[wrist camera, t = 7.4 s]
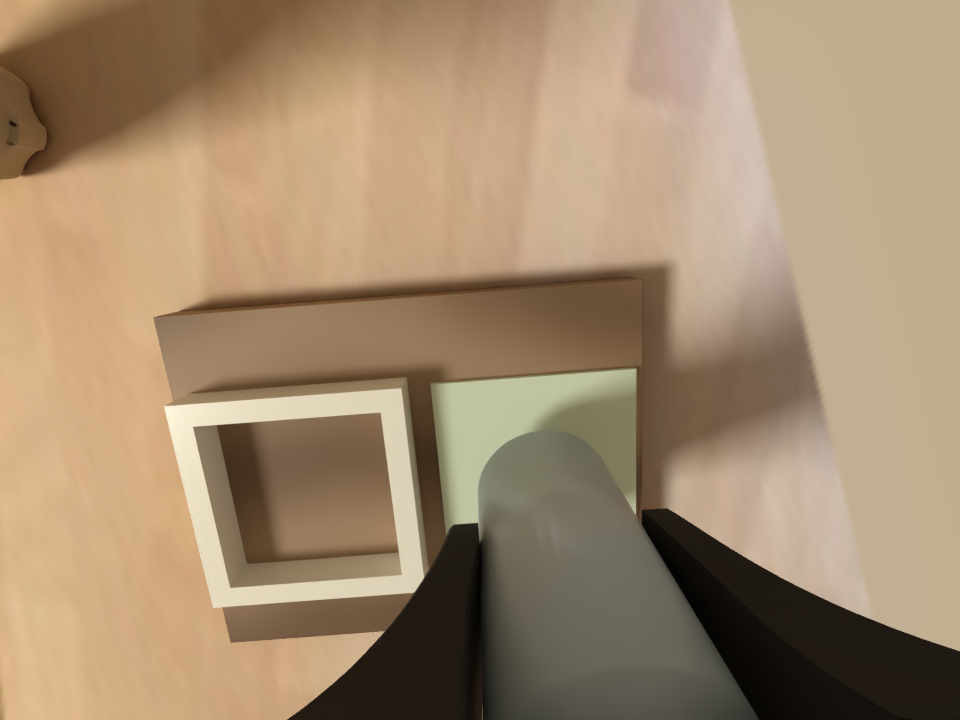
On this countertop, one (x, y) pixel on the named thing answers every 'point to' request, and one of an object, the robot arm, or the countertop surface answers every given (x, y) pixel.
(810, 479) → the countertop surface
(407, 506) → the cream square frame
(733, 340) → the countertop surface
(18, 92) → the handle
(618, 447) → the pad
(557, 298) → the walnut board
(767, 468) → the countertop surface
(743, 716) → the grey-blue cylinder
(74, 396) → the countertop surface
